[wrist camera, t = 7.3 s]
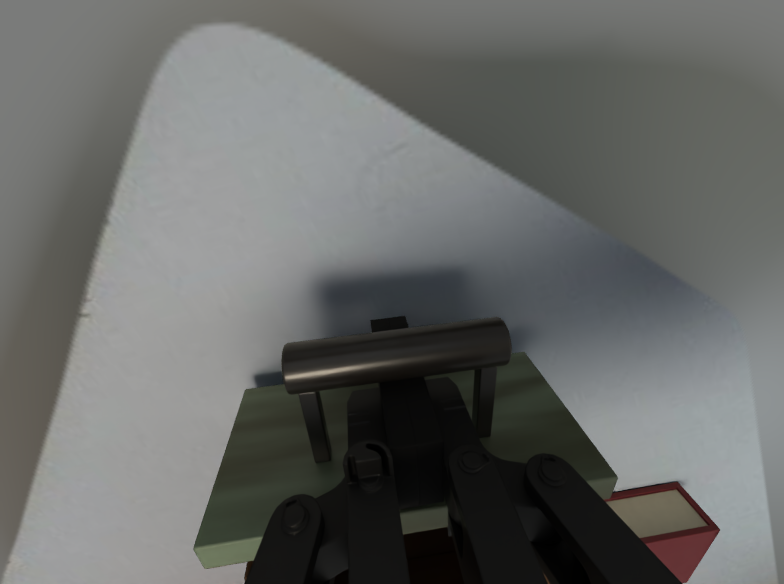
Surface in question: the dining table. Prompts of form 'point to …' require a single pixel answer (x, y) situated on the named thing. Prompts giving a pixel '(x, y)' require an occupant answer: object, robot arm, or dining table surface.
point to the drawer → (330, 433)
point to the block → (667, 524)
